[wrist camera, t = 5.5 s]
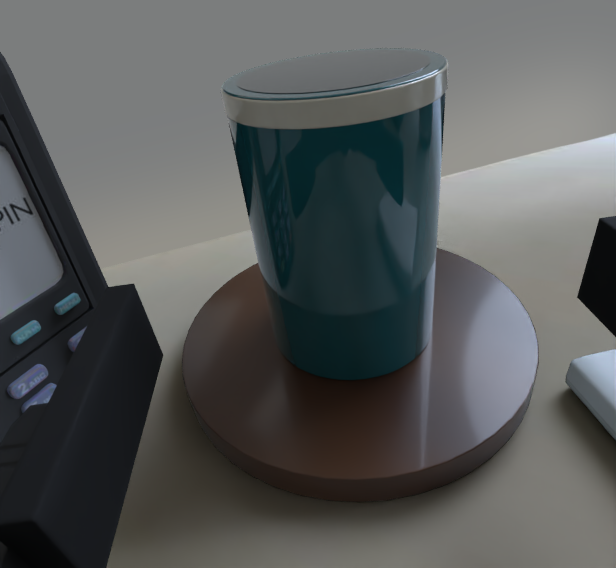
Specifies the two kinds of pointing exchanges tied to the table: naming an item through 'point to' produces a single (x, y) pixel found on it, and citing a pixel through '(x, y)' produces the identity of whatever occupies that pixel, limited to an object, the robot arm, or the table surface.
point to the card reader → (37, 264)
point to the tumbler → (344, 202)
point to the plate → (364, 393)
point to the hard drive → (596, 385)
